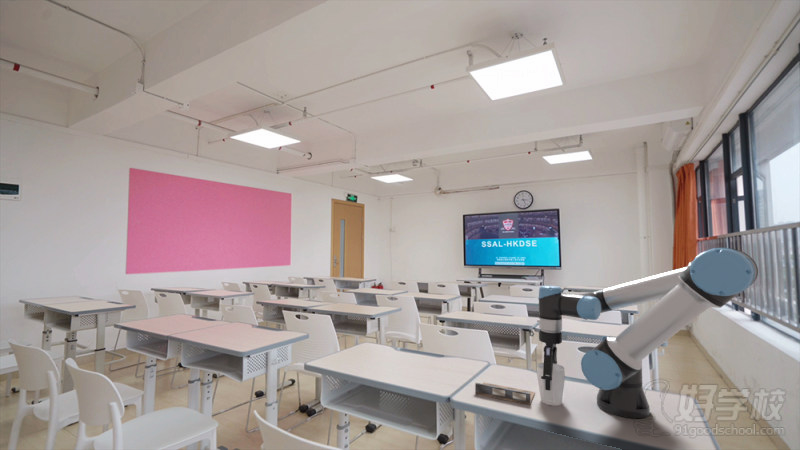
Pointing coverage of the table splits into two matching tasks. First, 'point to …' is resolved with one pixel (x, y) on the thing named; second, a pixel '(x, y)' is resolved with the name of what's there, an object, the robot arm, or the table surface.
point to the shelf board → (504, 393)
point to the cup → (558, 383)
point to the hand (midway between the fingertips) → (550, 392)
